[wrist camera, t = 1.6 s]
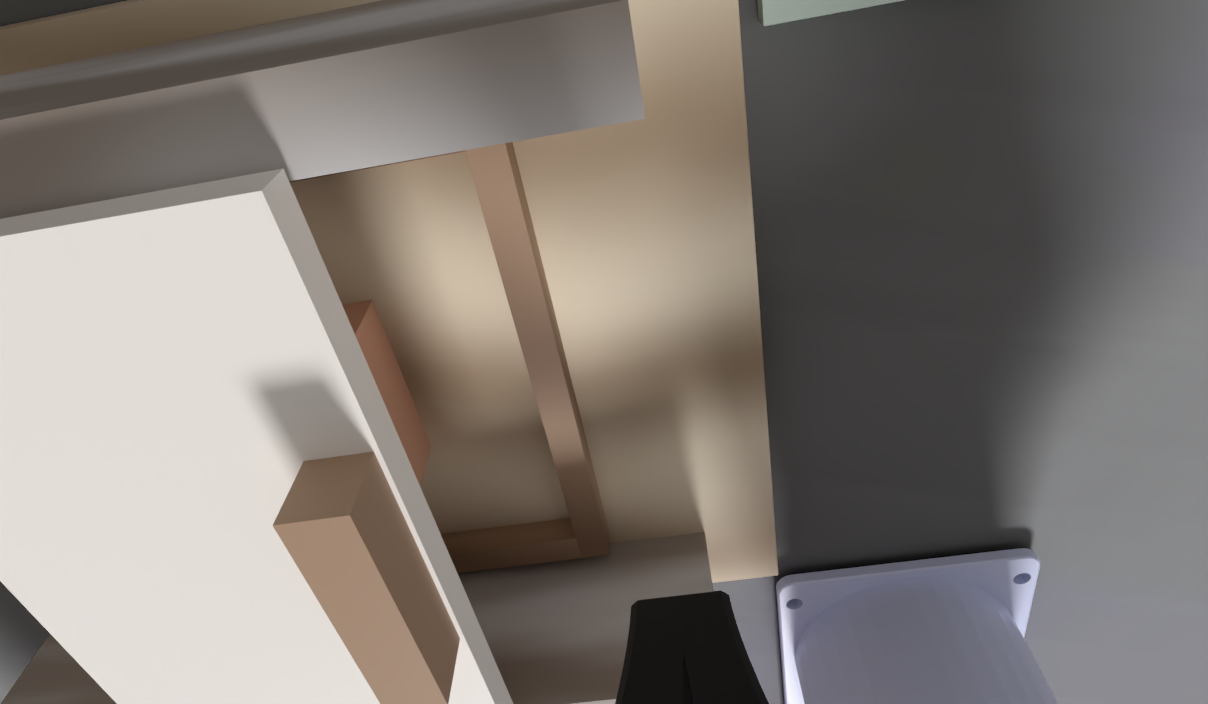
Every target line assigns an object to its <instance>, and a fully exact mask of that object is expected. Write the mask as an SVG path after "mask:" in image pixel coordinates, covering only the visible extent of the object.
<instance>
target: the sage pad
mask: <svg viewBox="0 0 1208 704" xmlns="http://www.w3.org/2000/svg"><path fill="white" fill-rule="evenodd" d="M898 1H904V0H757V6H758V21H759V22H760V23H761V24H762V25H763V26H769V25H774V24H780V23H785V22H790V21H796V20H801V19H807V18H812V17H817V16H823V15H828V14H834V13H839V12H844V11H850V10H855V9H861V8H866V7H871V6H877V5H882V4H888V3H893V2H898Z"/></svg>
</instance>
